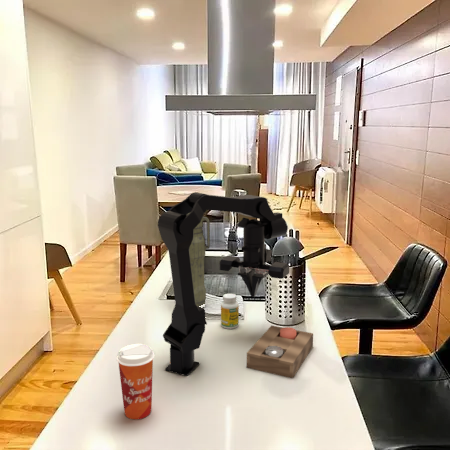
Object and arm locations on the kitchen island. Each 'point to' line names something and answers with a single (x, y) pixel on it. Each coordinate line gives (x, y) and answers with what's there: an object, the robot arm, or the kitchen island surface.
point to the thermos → (199, 260)
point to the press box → (292, 348)
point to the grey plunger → (274, 351)
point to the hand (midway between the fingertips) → (253, 296)
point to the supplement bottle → (229, 311)
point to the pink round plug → (288, 333)
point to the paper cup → (136, 379)
